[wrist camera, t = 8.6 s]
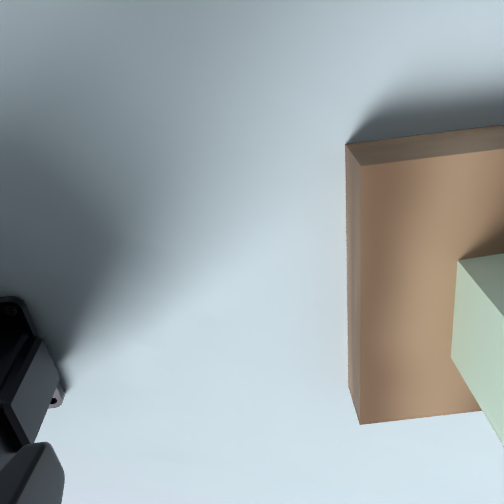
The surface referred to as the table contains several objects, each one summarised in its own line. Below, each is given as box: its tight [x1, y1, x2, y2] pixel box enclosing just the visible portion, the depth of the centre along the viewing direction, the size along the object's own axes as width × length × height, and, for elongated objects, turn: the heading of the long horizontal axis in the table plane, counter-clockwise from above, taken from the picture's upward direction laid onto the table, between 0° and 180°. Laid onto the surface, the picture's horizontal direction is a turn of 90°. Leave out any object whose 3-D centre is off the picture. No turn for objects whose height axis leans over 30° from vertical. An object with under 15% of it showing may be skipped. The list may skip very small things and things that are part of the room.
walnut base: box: [345, 125, 504, 425], centre depth 21 cm, size 13×13×3 cm
